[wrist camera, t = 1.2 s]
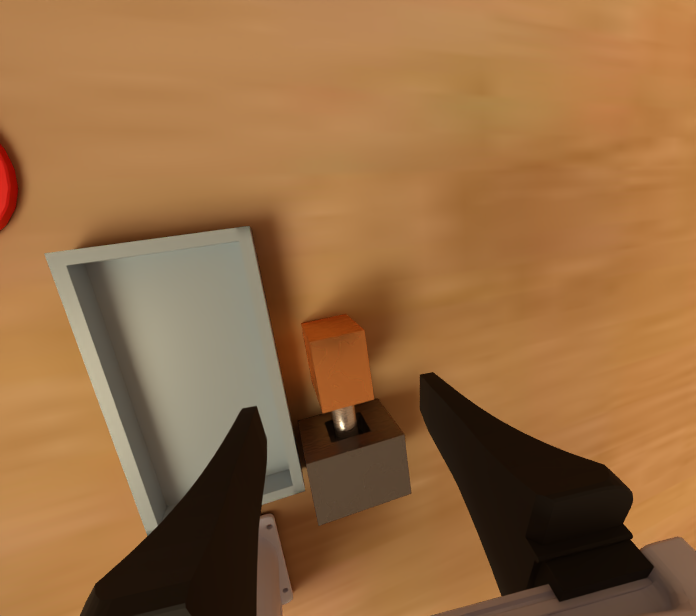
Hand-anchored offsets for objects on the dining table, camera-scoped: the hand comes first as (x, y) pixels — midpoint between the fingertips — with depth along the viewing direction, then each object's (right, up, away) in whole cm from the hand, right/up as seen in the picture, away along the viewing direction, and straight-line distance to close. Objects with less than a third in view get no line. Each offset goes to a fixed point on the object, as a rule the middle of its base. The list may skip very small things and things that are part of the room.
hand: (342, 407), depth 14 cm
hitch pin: (-1, -4, +13) cm, 13 cm away
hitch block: (0, -7, +13) cm, 15 cm away
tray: (-10, -1, +9) cm, 14 cm away
